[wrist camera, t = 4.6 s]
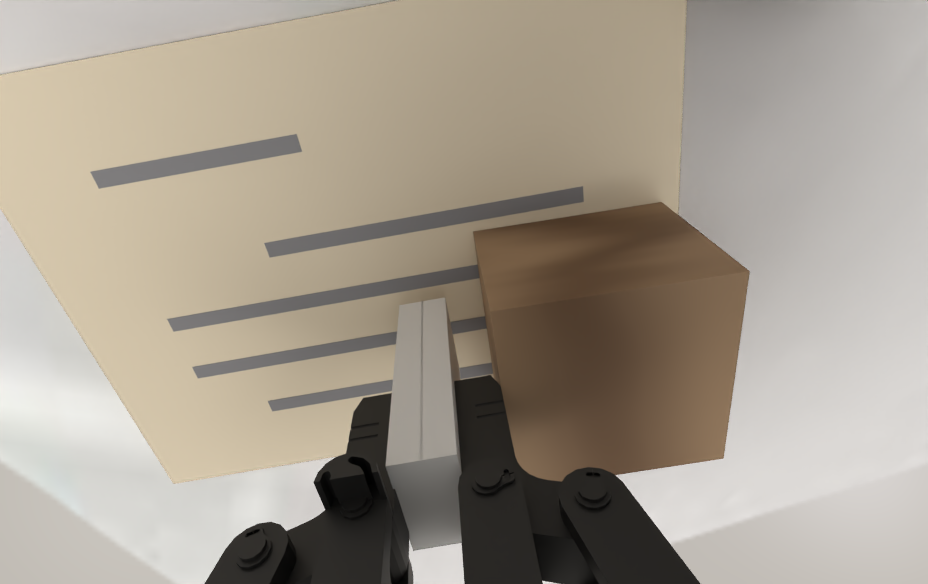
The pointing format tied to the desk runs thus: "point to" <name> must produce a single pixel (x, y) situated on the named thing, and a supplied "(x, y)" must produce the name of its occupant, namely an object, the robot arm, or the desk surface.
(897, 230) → the desk surface
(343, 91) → the letter
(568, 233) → the block
